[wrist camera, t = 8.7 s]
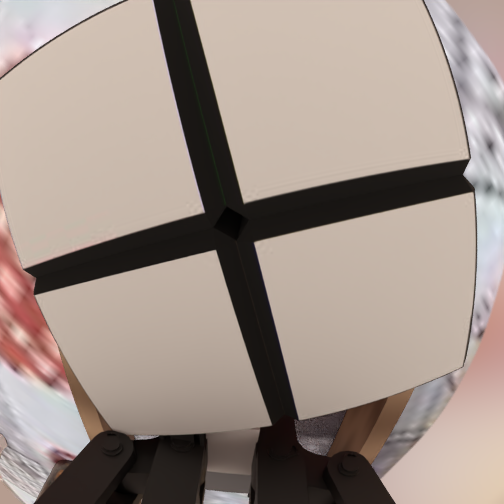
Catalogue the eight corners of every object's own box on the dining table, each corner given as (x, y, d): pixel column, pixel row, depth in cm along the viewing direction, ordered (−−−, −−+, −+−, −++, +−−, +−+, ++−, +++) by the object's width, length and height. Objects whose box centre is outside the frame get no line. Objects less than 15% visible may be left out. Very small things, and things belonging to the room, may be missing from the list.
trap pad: (288, 490, 22) (289, 493, 22) (165, 479, 22) (164, 482, 21) (301, 460, 20) (302, 464, 20) (158, 447, 20) (157, 451, 20)
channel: (321, 493, 22) (325, 523, 18) (133, 476, 22) (123, 505, 18) (394, 336, 17) (420, 374, 13) (89, 308, 17) (56, 341, 13)
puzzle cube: (362, 255, 15) (470, 371, 6) (181, 297, 16) (112, 441, 7) (320, 67, 13) (408, -45, 3) (128, 118, 13) (-22, 87, 4)
